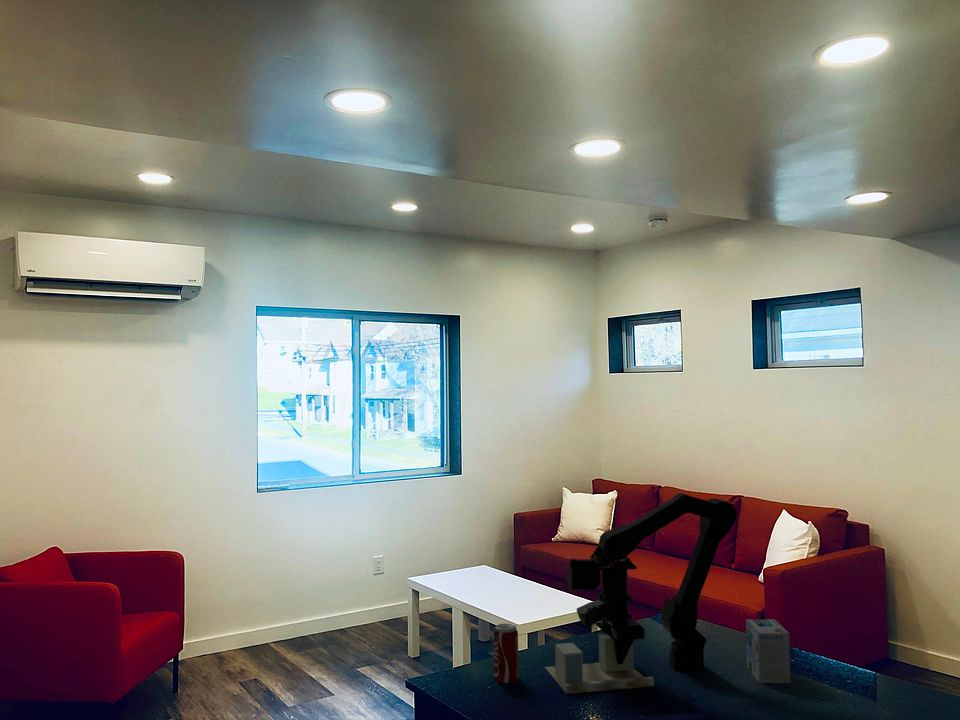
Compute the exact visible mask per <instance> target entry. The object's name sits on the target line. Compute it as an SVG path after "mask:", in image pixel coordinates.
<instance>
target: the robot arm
mask: <svg viewBox="0 0 960 720" xmlns="http://www.w3.org/2000/svg"><path fill="white" fill-rule="evenodd" d="M685 514H692V515H695V516H697V517H700V518H699V534H698V538H697V541H696V543H695V546H694V548H693V551H692V553H691V557H690V559H689V562H688V565H687V567H686V571H685V573H684V575H683V578H682V581H681V583H680V585H679V589H678V591H677V593H676V594H675V595H674V596H673V597H672V598H670V597H668V596H666V597H665V599H664V603H663V607H662V609H661V610H660V611H659V614H660V615H661V617H660V622H661V624H662V627H663V628H664V629H665V630H666V632H668V633H669V635H670V637H671V639H673V640H674V641H671V645H670V646H671V648H670V649H669V667H670V668H671V669H672V670H674V671H679V672H680V671H681V672H682V671H683V672H689V673H691V672H692V673H693V672H694V673H695V672H699V671H701V670H704V669H705V657H704V649H705V646H706V642H707V638H706V637H705V636H704V635H702V633H700V631H699V630H698V629H696V628H697V623H698V618H699V617H698V616H699V615H698V613H699V611H698V609H699V608H698V604H699V603H698V602H699V599H700V596H701V594H702V591H703V588H704V587H705V583H706V580H707V578H708V574H709V573H710V569H711V566H712V564H713V561H714V558H715V556H716V554H717V551H718V548H719V545H720V543H721V541H722V540H724V538H725V537H726V536H727V535H729V533H730V531H731V529H732V528H733V526H734V524H735V522H736V521H737V518H738V511H737V510H736V507H735V506H734V505H733V504H732V503H731V502H728V501H726V500H724V499H720V498H716V497H714V498H712V497H711V498H709V499H702V498H698V497H694V496H691V495H689V494H686V493H681V492H679V493H677V494H675V495H674V496H673V497H672V498H670V499H669V500H667V501H665V502H663V503H662V504H661V505H659V506H657V507H656V508H654V509H652V510H650V511H649V512H647V513H645V514H644V515H642V516H641V517H638V519H636V520H634V521H632V522H629V523H627V524H624V525H620V526H616V527H613V528H611V529H608V530H606V531H604V532H602V534H601V535H599V538H598V539H599V540H598V545H597V547H596V548H595V549H594V551H593V552H592V554H591V555H590V557H589V558H584V559H583V558H582V559H581V558H569V560H568V563H569V564H568V567H567V572H566V577H567V579H566V580H567V586H568V590H569V591H571V592H572V591H573V592H574V591H596V590H597V588H599V586H601V591H599V592H598V593H597V599H595V600H593V601H590V602H587V603H585V604H583V605H581V606H578V607H577V608H576V612H577V616H578V618H579V621H580V623H581V624H582V625H583V626H584V627H586V628H590V627H592V626H593V625H594V624H595V626H596V627H598V628H599V629H600V630H601V631H602V634H606V633H607V634H608V635H609V636H610V637H611V638H612V639H613V641H614V647H615V653H616V659H617V664H623V662H624V660H625V657H626V655H627V653H628V651H629V649H630V647H631V645H632V643H633V644H634V641H635V640H644V639H645V628H644V627H643V626H642V625H641V624H639V623H638V622H636V621H635V620H632V615H633V614H632V613H630V612H629V601H632V595H631V594H629V587H628V585H629V584H628V582H629V580H628V579H629V578H628V570H637V569H638V566H637V565H636V564H634V563H633V562H632V560H631V558H630V557H629V555H631V554H632V552H634V550H636V549H637V547H638V546H639V545H640V543H641V542H643V541H644V540H645V539H646V538H648V537H650V536H651V535H653V534H654V533H655V532H656V533H657V531H659V530H661V529H662V528H664V527H666V526H667V525H669V524H671V523H672V522H674V521H676V520H677V519H679V518H680V517H682V516H684V515H685Z"/></svg>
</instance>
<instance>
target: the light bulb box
mask: <svg viewBox="0 0 960 720" xmlns="http://www.w3.org/2000/svg"><path fill="white" fill-rule="evenodd" d="M745 631H746V633H745V634H746V637H745V638H746V639H745V640H746V667H747V668H748V671H750V673H751V674H752V675H753V676H755V677H754V678H755V680H756V681H757V680H758V681H759V682H761V683H762V684H763V683H791V656H790V633H789V631H787V630H786V629H785V628H784V626H782V625H781V624H780V623H779V622H778V621H777V620H776V619H771V618H770V619H745ZM758 681H757V682H758ZM759 682H758V683H759ZM761 683H760V684H761Z"/></svg>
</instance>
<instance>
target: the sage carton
mask: <svg viewBox="0 0 960 720" xmlns="http://www.w3.org/2000/svg"><path fill="white" fill-rule="evenodd" d="M634 653H635V652H634V642H633V643H632V645H631V647H630V649H629V651H628V653H627V655H626V657H625V660H624V662H623V664H617V659H616V653H615V647H614V641H613V639H612V638H611V637H610V636H609V635H608V634H607V633H606V634H604V633H598V663H599V666H600V667H601V668H602V669H603V670H604V671H605V672H613V671H626V670H634V669H635V667H634V664H635V661H634V660H635V658H634V657H635V656H634Z"/></svg>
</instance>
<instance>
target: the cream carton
mask: <svg viewBox="0 0 960 720" xmlns="http://www.w3.org/2000/svg"><path fill="white" fill-rule="evenodd" d="M554 646H555V647H554V648H555V649H554V651H555V652H554V653H555V654H554V655H555V666H556V678H557V679H558V681H559V682H560V683H561V684H562V686H563V687H564V688H565V684H568V683H580V682H583V664H584V663H583V662H584V660H583V659H584V656H583V655H584V653H583V651H582V650H581V649H580V648H579V647H578V646H577V645H575V643H574V642H568V643H555V644H554Z"/></svg>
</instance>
